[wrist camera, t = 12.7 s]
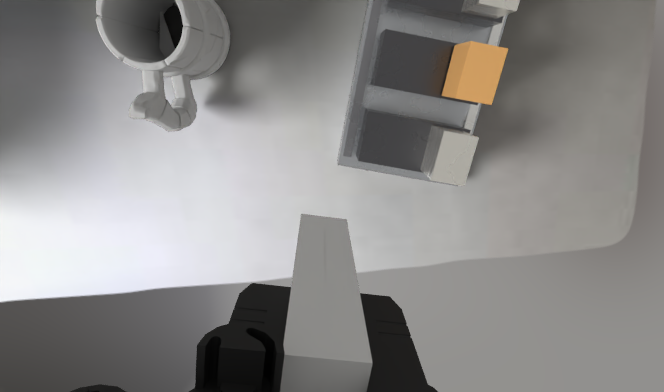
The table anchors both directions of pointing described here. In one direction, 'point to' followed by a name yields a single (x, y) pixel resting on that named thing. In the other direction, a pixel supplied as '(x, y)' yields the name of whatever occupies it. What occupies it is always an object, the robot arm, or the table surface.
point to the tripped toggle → (474, 72)
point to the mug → (165, 52)
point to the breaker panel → (416, 88)
